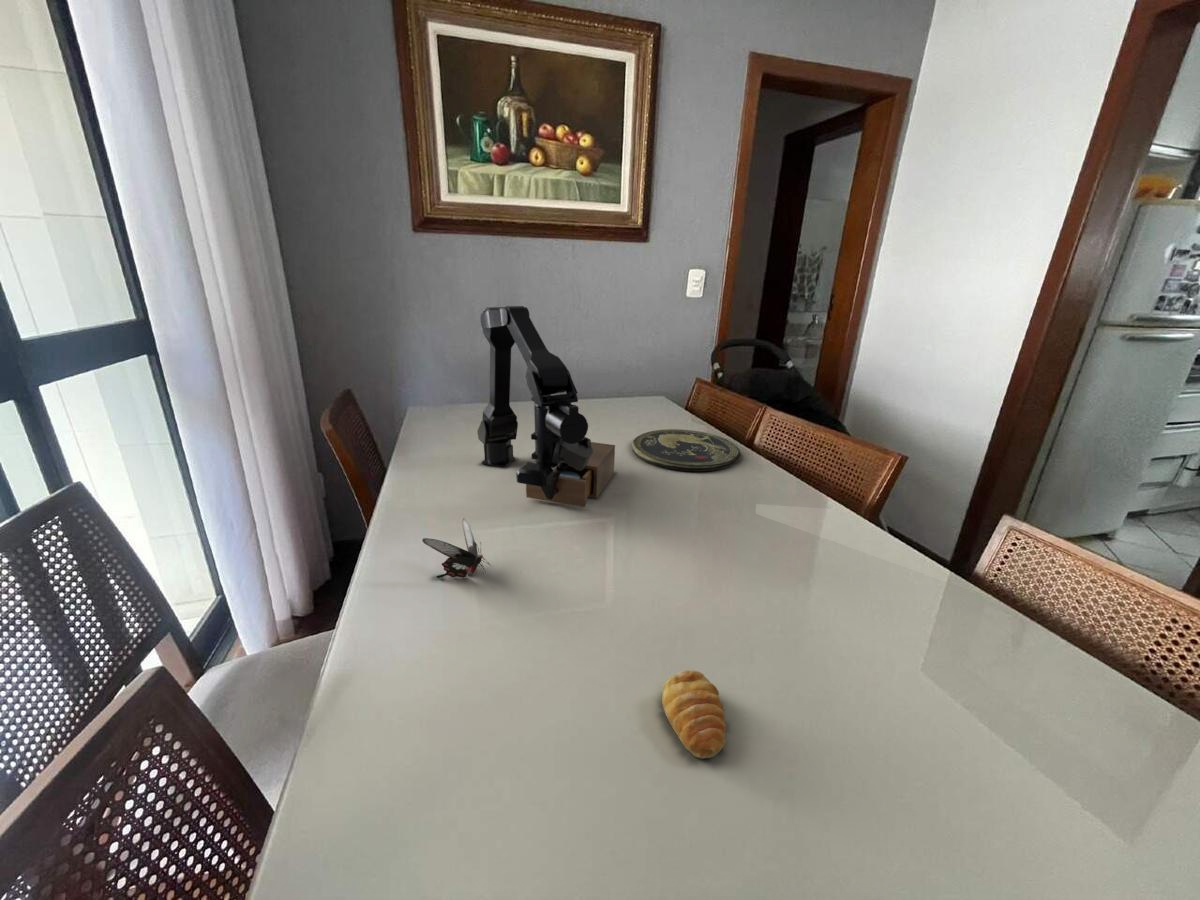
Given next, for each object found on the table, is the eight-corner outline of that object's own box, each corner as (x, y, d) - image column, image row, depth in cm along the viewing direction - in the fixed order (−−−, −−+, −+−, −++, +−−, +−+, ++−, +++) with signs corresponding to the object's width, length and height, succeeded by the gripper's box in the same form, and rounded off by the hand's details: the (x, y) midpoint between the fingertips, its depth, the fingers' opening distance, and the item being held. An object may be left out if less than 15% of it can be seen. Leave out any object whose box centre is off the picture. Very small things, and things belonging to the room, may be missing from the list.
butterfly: (447, 598, 81) (416, 547, 82) (490, 570, 86) (460, 522, 86) (455, 593, 72) (420, 536, 73) (503, 562, 76) (469, 508, 77)
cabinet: (596, 498, 108) (597, 467, 105) (536, 488, 112) (535, 458, 109) (614, 473, 121) (615, 445, 119) (559, 465, 125) (559, 437, 122)
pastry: (740, 758, 52) (744, 733, 51) (679, 767, 51) (681, 741, 50) (708, 687, 61) (711, 663, 59) (656, 693, 60) (658, 669, 58)
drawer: (582, 509, 101) (583, 484, 99) (524, 499, 105) (523, 475, 103) (603, 481, 114) (603, 459, 112) (550, 473, 118) (549, 451, 116)
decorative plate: (750, 469, 121) (630, 461, 123) (749, 476, 122) (629, 468, 124) (731, 431, 149) (633, 426, 151) (730, 437, 150) (633, 431, 152)
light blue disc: (546, 489, 107) (546, 480, 107) (557, 477, 113) (557, 469, 112) (574, 493, 106) (574, 484, 105) (584, 481, 112) (584, 473, 111)
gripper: (571, 449, 85) (570, 526, 91) (602, 419, 102) (600, 486, 107) (513, 441, 88) (516, 516, 94) (553, 413, 105) (553, 478, 110)
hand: (550, 498), depth 101 cm, fingers closed
